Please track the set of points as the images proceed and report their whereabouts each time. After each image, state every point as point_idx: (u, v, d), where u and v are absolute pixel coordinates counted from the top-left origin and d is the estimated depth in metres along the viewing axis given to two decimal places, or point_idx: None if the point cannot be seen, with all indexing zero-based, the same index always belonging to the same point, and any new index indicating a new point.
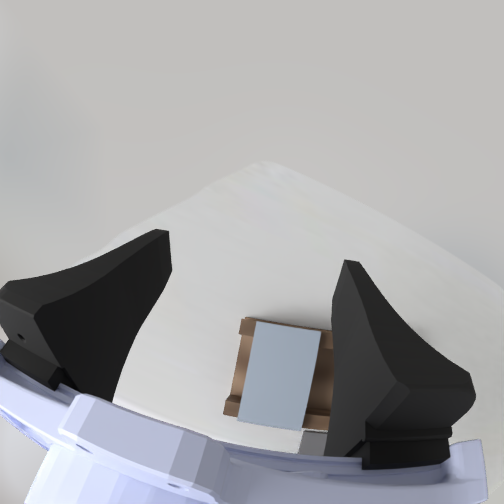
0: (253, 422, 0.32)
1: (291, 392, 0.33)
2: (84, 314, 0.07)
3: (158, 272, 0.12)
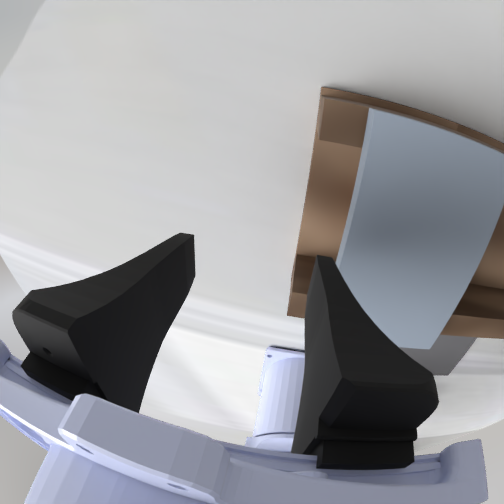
0: None
1: (436, 288, 0.14)
2: (116, 325, 0.07)
3: (183, 277, 0.11)
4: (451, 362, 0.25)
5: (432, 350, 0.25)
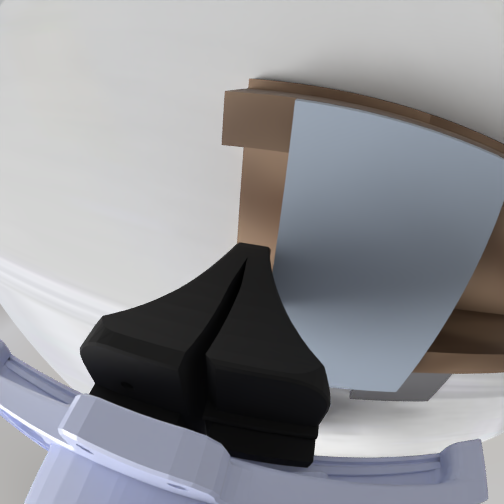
0: None
1: (399, 329, 0.11)
2: (206, 349, 0.07)
3: None
4: (431, 388, 0.23)
5: None
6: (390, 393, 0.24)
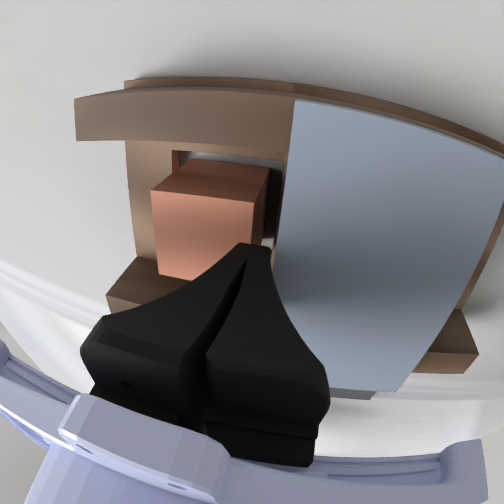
0: None
1: (399, 329, 0.11)
2: (206, 349, 0.07)
3: None
4: None
5: None
6: None
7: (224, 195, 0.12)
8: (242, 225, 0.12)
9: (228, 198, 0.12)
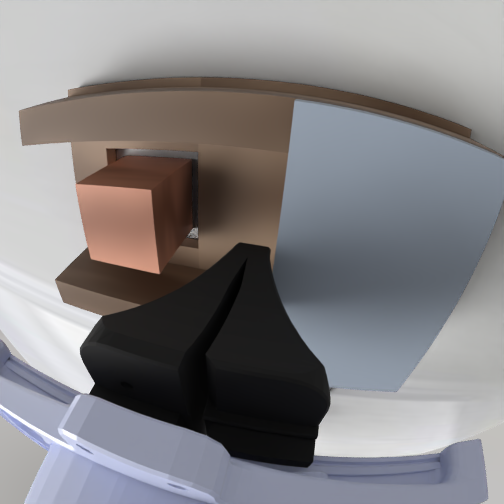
0: None
1: (399, 329, 0.11)
2: (206, 349, 0.07)
3: None
4: None
5: None
6: None
7: (130, 185, 0.13)
8: (145, 211, 0.13)
9: (131, 187, 0.12)
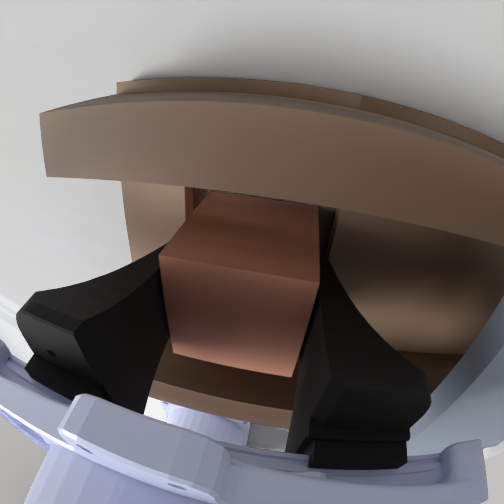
0: None
1: None
2: (122, 327, 0.07)
3: None
4: None
5: None
6: None
7: (273, 267, 0.08)
8: (298, 309, 0.08)
9: (280, 274, 0.08)
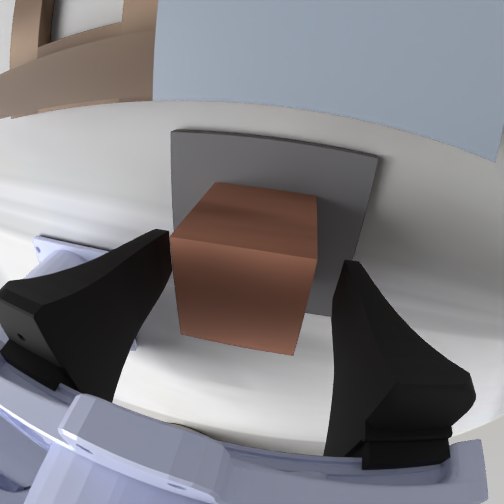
0: (242, 93, 0.05)
1: None
2: (84, 314, 0.07)
3: (158, 272, 0.12)
4: (326, 280, 0.15)
5: None
6: None
7: (274, 246, 0.09)
8: (298, 286, 0.09)
9: (281, 252, 0.09)
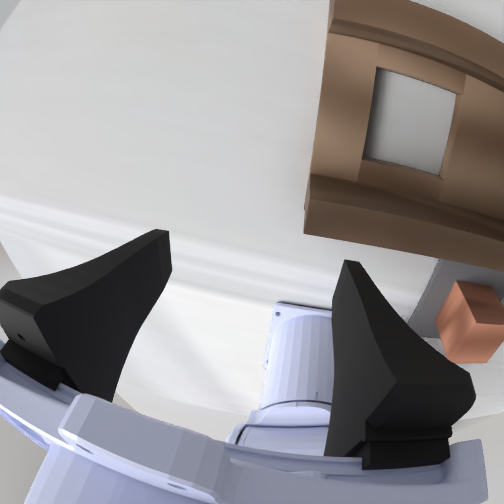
0: None
1: None
2: (84, 314, 0.07)
3: (158, 272, 0.12)
4: None
5: None
6: None
7: (502, 322, 0.16)
8: None
9: None
